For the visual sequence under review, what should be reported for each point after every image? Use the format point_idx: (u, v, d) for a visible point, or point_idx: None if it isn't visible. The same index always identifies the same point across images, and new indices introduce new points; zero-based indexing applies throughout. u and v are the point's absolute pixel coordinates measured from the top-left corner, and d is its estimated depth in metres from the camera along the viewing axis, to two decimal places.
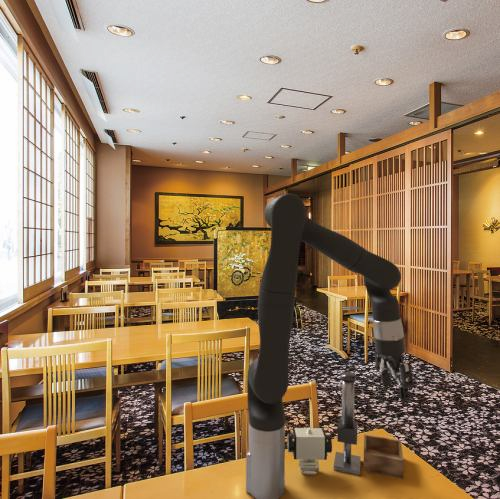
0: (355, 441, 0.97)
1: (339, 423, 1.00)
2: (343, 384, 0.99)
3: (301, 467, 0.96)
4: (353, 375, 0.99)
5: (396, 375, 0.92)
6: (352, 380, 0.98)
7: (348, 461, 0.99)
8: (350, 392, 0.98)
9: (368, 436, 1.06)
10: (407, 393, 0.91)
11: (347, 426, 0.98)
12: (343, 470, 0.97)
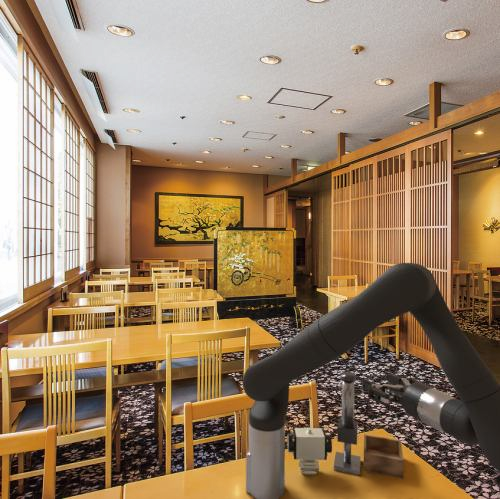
0: (355, 441, 0.97)
1: (339, 423, 1.00)
2: (343, 384, 0.99)
3: (301, 467, 0.96)
4: (353, 375, 0.99)
5: (384, 387, 0.82)
6: (352, 380, 0.98)
7: (348, 461, 0.99)
8: (350, 392, 0.98)
9: (368, 436, 1.06)
10: (365, 388, 0.86)
11: (347, 426, 0.98)
12: (343, 470, 0.97)
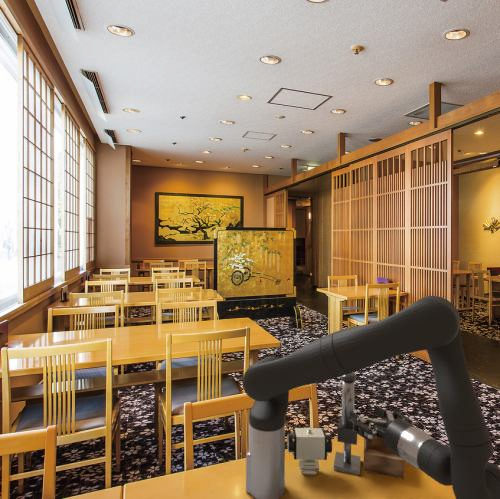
0: (355, 441, 0.97)
1: (339, 423, 1.00)
2: (343, 384, 0.99)
3: (301, 467, 0.96)
4: (353, 375, 0.99)
5: (368, 421, 0.86)
6: (352, 380, 0.98)
7: (348, 461, 0.99)
8: (350, 392, 0.98)
9: None
10: (351, 420, 0.90)
11: (347, 426, 0.98)
12: (343, 470, 0.97)
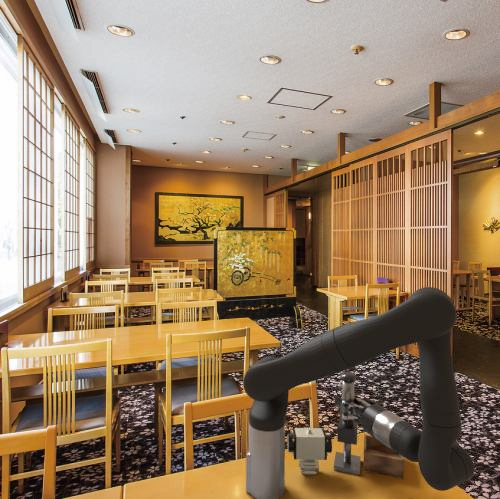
0: (355, 441, 0.97)
1: (339, 423, 1.00)
2: (343, 384, 0.99)
3: (301, 467, 0.96)
4: (353, 375, 0.99)
5: (349, 405, 0.95)
6: (352, 380, 0.98)
7: (348, 461, 0.99)
8: (350, 392, 0.98)
9: (368, 436, 1.06)
10: (337, 404, 0.99)
11: (347, 426, 0.98)
12: (343, 470, 0.97)
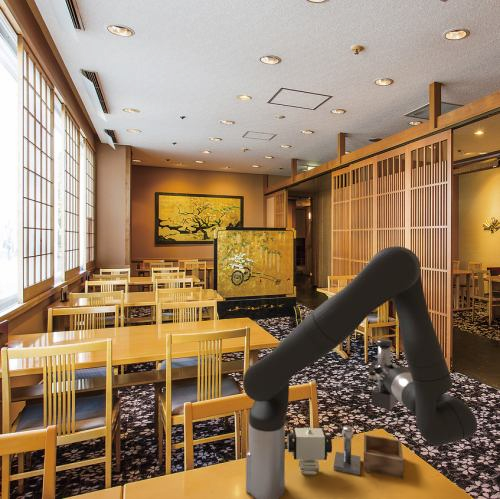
0: (388, 406, 0.97)
1: (375, 388, 1.01)
2: (378, 349, 1.00)
3: (301, 467, 0.96)
4: (389, 341, 0.99)
5: (380, 368, 0.96)
6: (386, 345, 0.98)
7: (348, 461, 0.99)
8: (384, 357, 0.99)
9: (368, 436, 1.06)
10: None
11: (381, 391, 0.99)
12: (343, 470, 0.97)
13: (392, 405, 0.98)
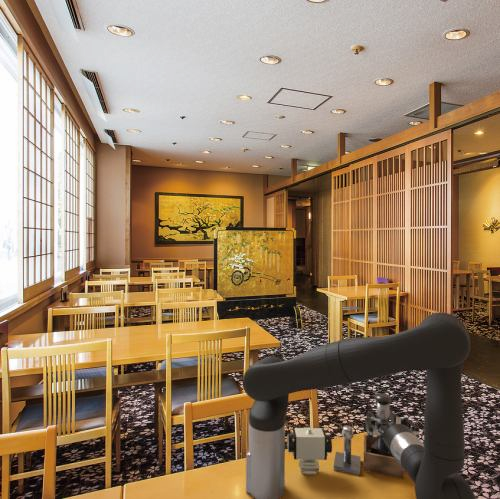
0: None
1: (374, 444, 1.02)
2: (377, 405, 1.01)
3: (301, 467, 0.96)
4: (388, 397, 1.00)
5: (377, 421, 0.96)
6: (385, 402, 0.99)
7: (348, 461, 0.99)
8: (383, 414, 0.99)
9: None
10: None
11: (380, 448, 0.99)
12: (343, 470, 0.97)
13: None
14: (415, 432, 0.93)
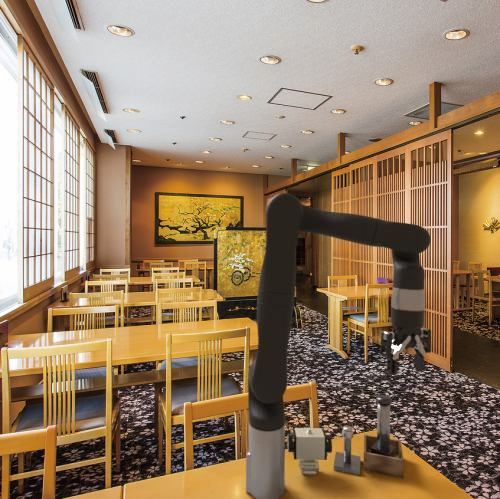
0: None
1: (374, 444, 1.02)
2: (378, 406, 1.00)
3: (301, 467, 0.96)
4: (388, 399, 0.99)
5: None
6: (386, 404, 0.98)
7: (348, 461, 0.99)
8: (384, 415, 0.99)
9: (368, 436, 1.06)
10: (389, 366, 0.85)
11: (381, 448, 0.99)
12: (343, 470, 0.97)
13: None
14: (422, 329, 0.89)
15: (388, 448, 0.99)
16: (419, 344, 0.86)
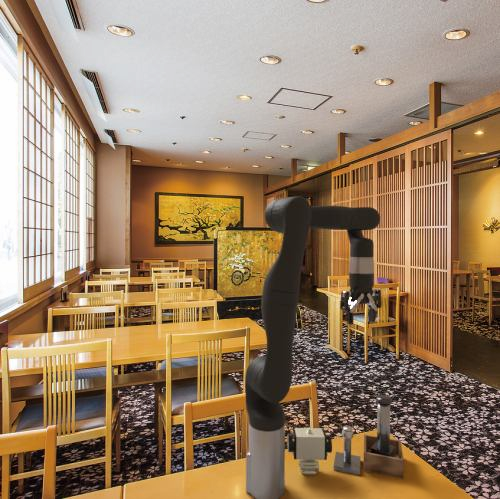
0: None
1: (374, 444, 1.02)
2: (378, 406, 1.00)
3: (301, 467, 0.96)
4: (388, 399, 0.99)
5: (348, 302, 1.10)
6: (386, 404, 0.98)
7: (348, 461, 0.99)
8: (384, 415, 0.99)
9: (368, 436, 1.06)
10: (348, 317, 1.08)
11: (381, 448, 0.99)
12: (343, 470, 0.97)
13: None
14: (374, 289, 1.13)
15: (388, 448, 0.99)
16: (371, 300, 1.10)
